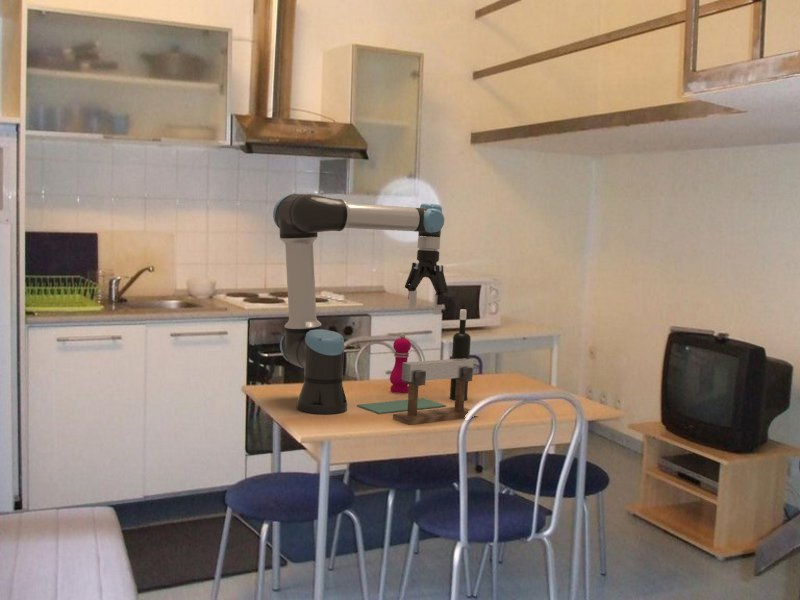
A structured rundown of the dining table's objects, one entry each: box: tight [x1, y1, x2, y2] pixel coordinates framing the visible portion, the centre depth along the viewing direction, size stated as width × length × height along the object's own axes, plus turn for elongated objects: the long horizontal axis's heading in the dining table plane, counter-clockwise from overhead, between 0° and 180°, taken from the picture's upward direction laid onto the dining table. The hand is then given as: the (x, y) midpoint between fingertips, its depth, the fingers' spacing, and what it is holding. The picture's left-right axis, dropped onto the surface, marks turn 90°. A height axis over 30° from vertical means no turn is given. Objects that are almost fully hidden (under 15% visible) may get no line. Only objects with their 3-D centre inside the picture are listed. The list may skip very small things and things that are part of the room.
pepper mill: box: [389, 333, 412, 394], centre depth 299 cm, size 7×7×20 cm
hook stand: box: [392, 367, 474, 426], centre depth 261 cm, size 26×8×15 cm, turn 127°
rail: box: [402, 358, 475, 382], centre depth 261 cm, size 24×4×5 cm, turn 127°
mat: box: [356, 397, 447, 415], centre depth 276 cm, size 26×12×1 cm, turn 127°
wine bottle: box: [449, 308, 472, 401], centre depth 291 cm, size 6×6×30 cm
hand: (424, 312), depth 299 cm, fingers open, 13 cm apart
